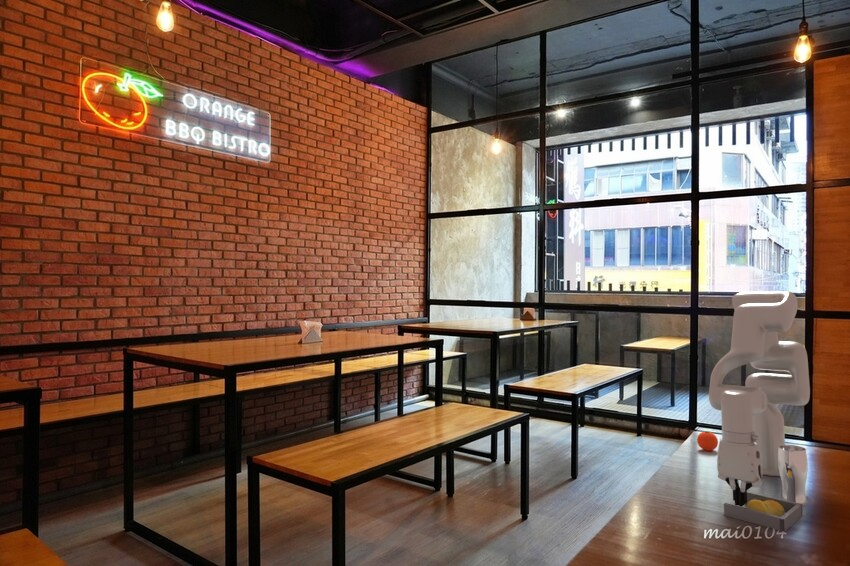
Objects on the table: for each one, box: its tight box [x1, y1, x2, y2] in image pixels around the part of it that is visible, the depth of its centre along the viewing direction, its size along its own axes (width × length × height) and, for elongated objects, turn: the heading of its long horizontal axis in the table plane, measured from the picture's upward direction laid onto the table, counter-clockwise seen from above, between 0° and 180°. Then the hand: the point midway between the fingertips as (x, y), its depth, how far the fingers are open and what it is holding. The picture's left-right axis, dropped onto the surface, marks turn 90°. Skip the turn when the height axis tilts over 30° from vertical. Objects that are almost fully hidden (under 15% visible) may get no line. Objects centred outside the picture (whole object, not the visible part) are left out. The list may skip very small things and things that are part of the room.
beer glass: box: [778, 444, 809, 507], centre depth 154 cm, size 7×7×15 cm
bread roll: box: [744, 499, 785, 517], centre depth 145 cm, size 8×9×4 cm
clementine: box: [696, 430, 719, 452], centre depth 204 cm, size 8×7×7 cm
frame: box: [723, 490, 804, 532], centre depth 145 cm, size 14×14×3 cm
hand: (740, 504), depth 149 cm, fingers closed
